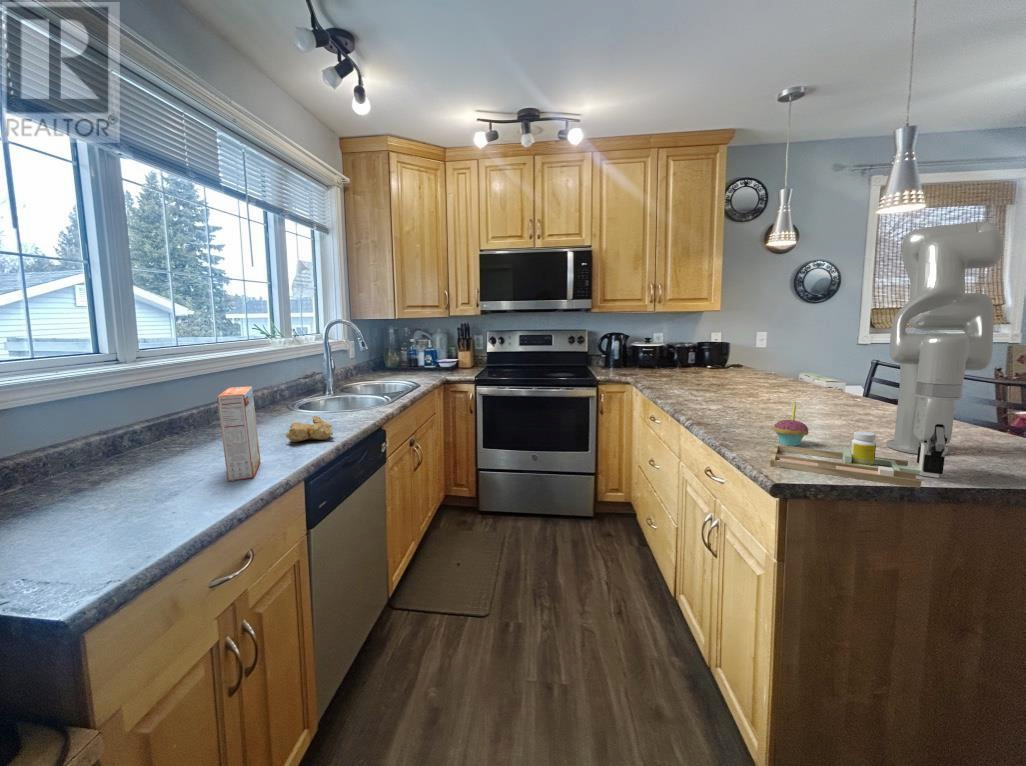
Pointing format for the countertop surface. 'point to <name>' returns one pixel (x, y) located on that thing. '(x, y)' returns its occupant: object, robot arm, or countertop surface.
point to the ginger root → (309, 430)
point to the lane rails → (830, 467)
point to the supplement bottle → (863, 448)
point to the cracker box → (239, 432)
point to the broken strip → (849, 468)
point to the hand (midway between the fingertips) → (929, 467)
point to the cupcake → (790, 430)
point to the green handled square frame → (892, 463)
